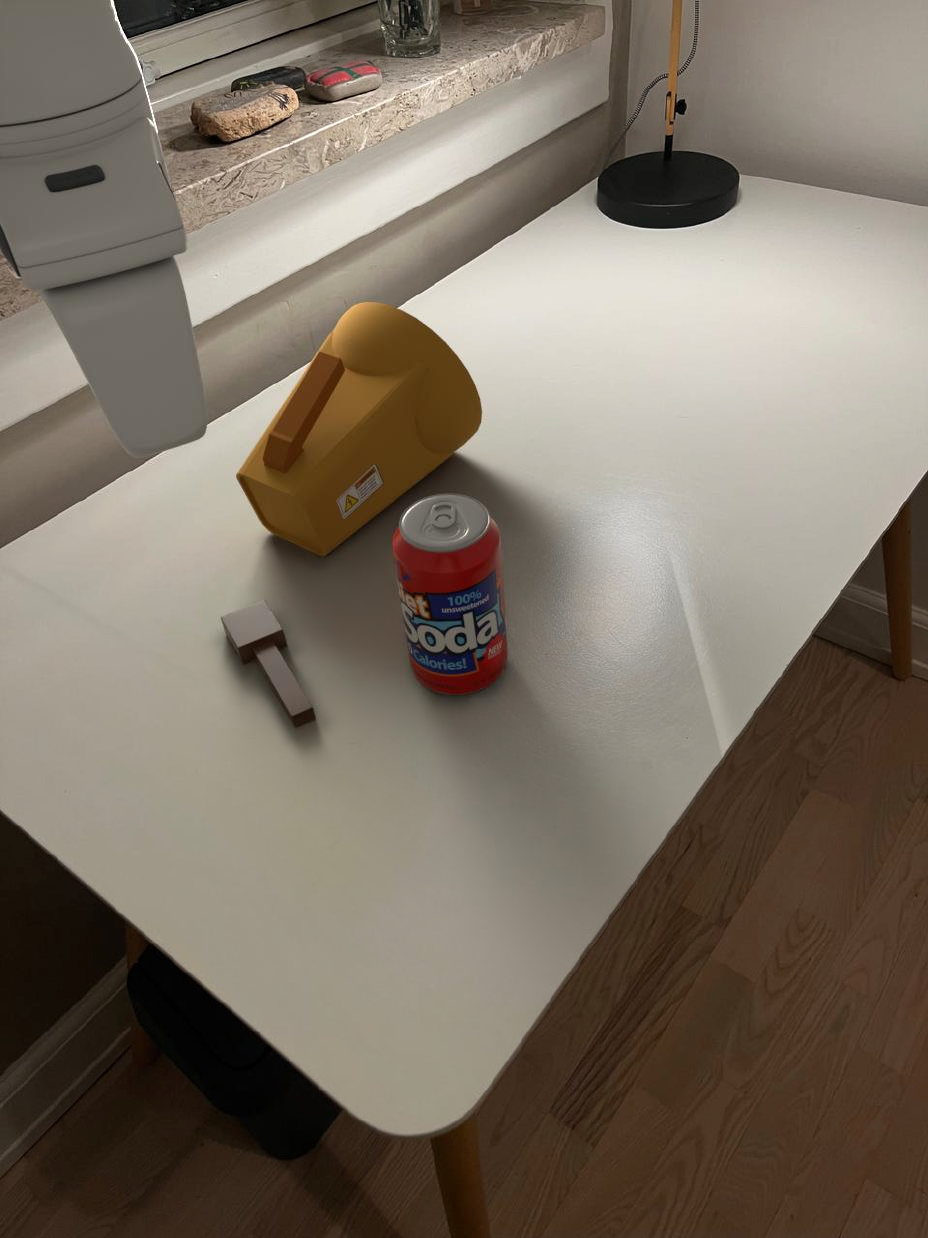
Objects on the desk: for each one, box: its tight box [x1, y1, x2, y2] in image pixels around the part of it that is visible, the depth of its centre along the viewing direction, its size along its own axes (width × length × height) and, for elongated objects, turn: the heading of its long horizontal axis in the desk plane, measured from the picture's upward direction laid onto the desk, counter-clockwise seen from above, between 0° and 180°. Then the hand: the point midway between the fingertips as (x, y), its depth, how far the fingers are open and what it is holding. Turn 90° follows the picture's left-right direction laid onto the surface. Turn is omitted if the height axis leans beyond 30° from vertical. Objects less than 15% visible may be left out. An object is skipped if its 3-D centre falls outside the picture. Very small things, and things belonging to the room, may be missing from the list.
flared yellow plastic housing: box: [235, 301, 483, 557], centre depth 96 cm, size 20×17×18 cm
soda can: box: [392, 492, 508, 696], centre depth 78 cm, size 8×8×15 cm
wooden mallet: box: [220, 599, 317, 729], centre depth 83 cm, size 13×4×2 cm, turn 29°
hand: (149, 437), depth 53 cm, fingers closed
